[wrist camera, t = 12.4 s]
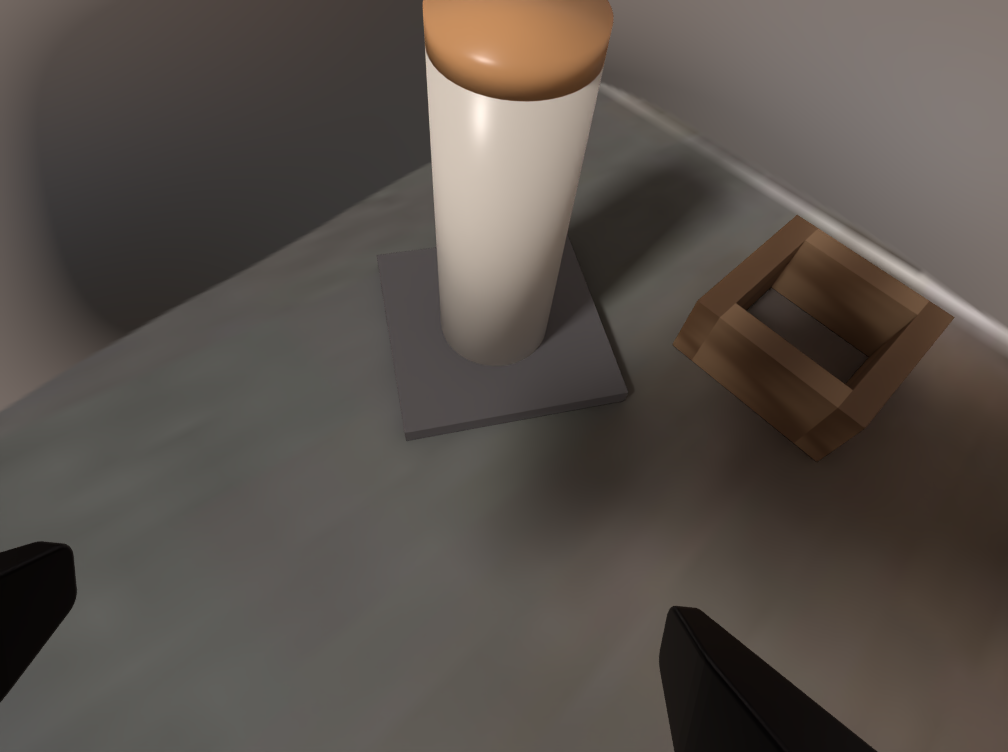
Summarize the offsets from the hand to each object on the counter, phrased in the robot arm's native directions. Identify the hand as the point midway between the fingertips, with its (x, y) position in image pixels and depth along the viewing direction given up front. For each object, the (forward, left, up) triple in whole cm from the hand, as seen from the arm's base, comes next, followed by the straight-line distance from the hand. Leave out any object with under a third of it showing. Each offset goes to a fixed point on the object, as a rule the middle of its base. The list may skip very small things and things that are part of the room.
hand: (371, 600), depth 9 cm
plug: (+14, -5, -13) cm, 19 cm away
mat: (+14, -6, -14) cm, 20 cm away
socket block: (+10, -20, -14) cm, 26 cm away
